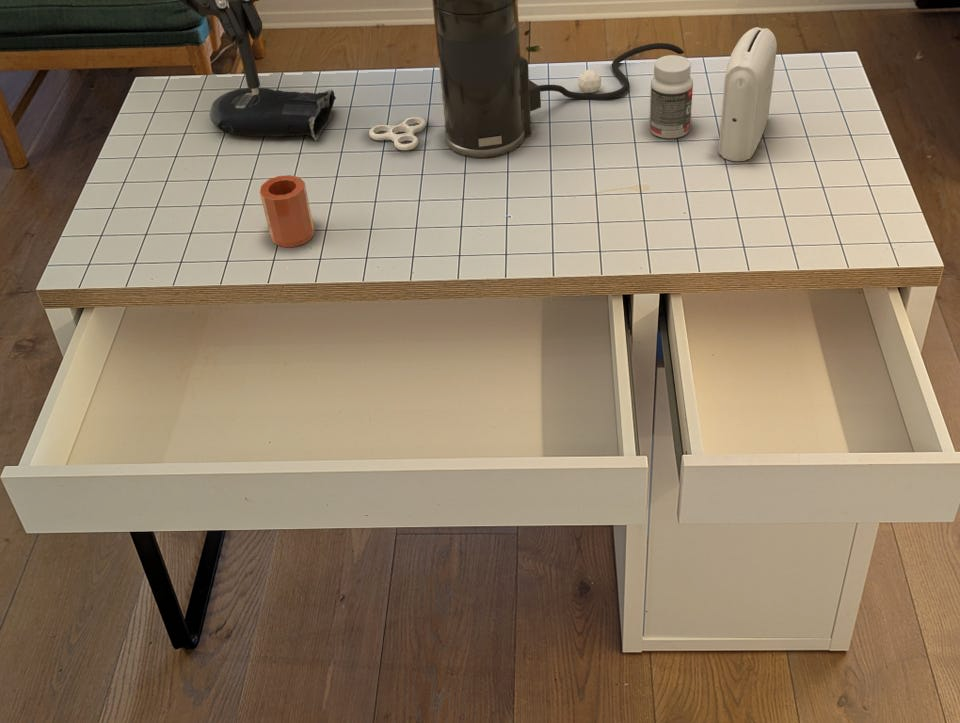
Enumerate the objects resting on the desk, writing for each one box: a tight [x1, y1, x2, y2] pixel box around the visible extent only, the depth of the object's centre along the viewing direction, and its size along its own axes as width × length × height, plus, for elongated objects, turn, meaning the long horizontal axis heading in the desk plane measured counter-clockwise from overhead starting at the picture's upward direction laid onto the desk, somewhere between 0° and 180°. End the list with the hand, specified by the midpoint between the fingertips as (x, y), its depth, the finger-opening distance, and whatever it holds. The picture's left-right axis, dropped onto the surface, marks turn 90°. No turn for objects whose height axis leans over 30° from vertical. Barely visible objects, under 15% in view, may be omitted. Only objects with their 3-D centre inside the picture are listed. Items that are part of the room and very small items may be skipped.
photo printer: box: [718, 26, 778, 162], centre depth 119 cm, size 10×4×12 cm, turn 157°
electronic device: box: [209, 86, 337, 142], centre depth 133 cm, size 9×6×15 cm
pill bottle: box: [648, 54, 694, 139], centre depth 123 cm, size 5×5×8 cm
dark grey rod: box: [227, 0, 261, 95], centre depth 127 cm, size 2×2×12 cm
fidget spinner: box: [368, 116, 427, 151], centre depth 128 cm, size 7×6×1 cm
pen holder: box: [259, 174, 315, 248], centre depth 113 cm, size 5×5×6 cm
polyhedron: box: [577, 69, 602, 94], centre depth 133 cm, size 3×3×3 cm
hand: (248, 38), depth 124 cm, fingers closed on dark grey rod, 1 cm apart
